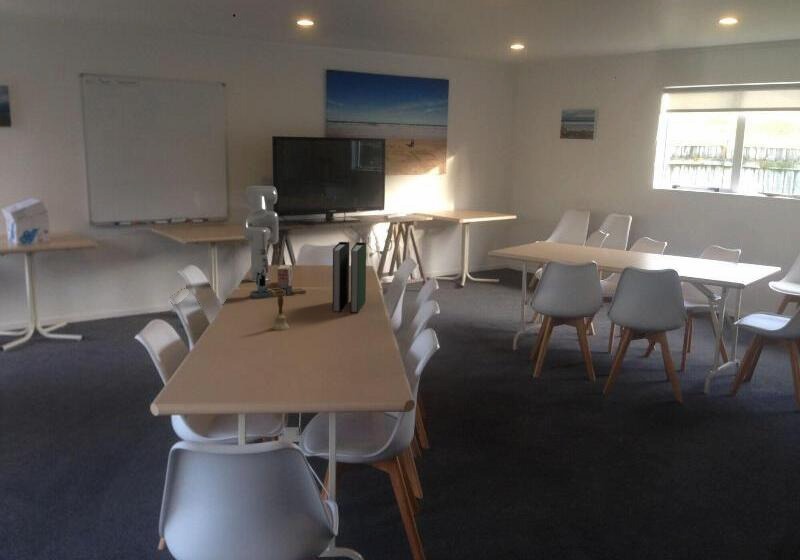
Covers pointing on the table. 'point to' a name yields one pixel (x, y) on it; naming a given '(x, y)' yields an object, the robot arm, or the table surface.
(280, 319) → the hand bell
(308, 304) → the table surface
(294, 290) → the board
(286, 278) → the stack of blocks
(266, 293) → the tray
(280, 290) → the socket
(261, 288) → the dowel
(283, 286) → the gray rectangular block
